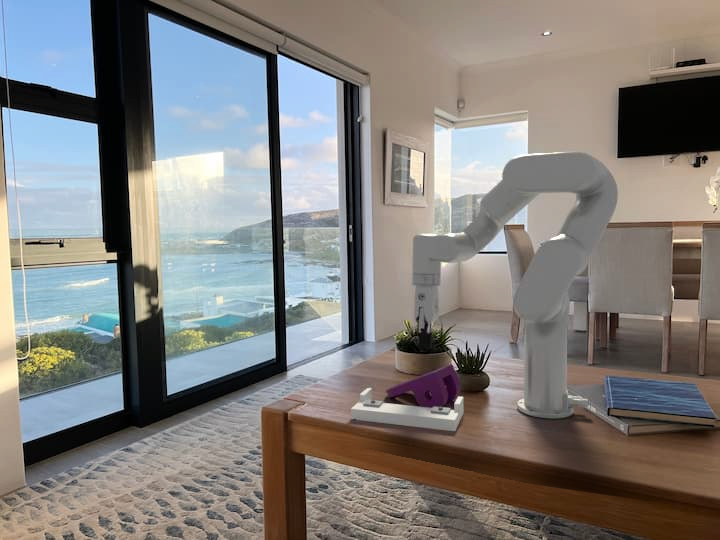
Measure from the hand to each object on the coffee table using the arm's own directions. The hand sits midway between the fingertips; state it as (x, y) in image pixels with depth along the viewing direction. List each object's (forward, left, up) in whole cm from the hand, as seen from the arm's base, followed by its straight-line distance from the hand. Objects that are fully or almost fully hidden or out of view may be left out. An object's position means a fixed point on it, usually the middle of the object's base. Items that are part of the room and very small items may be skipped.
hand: (425, 346), depth 138 cm
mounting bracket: (-1, +10, -12) cm, 16 cm away
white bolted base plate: (-1, +21, -12) cm, 24 cm away
